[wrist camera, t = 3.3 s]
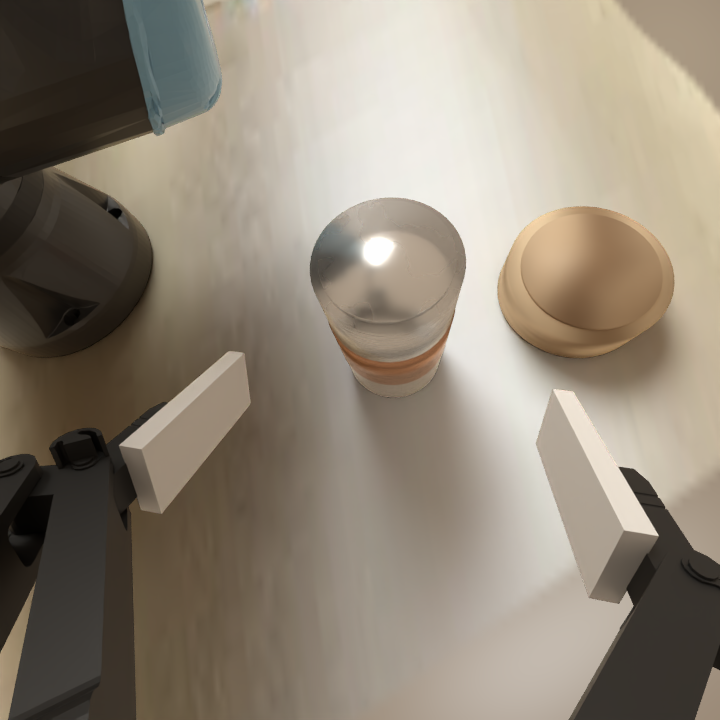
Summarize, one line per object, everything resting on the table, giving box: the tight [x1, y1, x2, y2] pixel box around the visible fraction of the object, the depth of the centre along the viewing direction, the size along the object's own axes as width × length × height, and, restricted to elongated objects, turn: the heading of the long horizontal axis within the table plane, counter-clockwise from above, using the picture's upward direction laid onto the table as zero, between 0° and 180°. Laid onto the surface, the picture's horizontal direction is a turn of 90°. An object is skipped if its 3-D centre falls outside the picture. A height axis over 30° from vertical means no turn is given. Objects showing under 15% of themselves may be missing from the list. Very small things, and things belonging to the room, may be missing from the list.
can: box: [310, 198, 466, 398], centre depth 21 cm, size 7×7×12 cm
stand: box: [498, 207, 674, 358], centre depth 26 cm, size 10×10×3 cm
